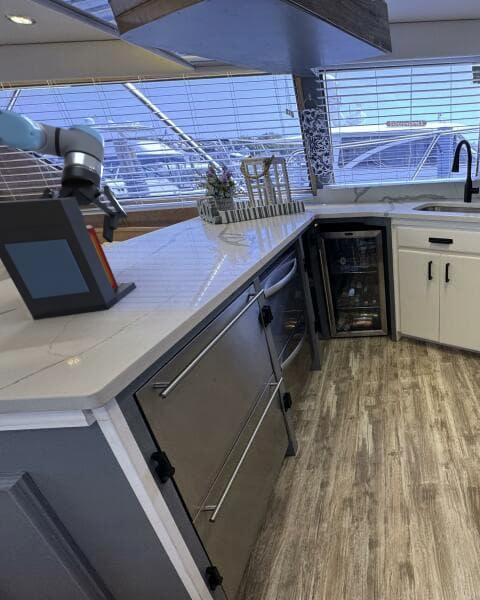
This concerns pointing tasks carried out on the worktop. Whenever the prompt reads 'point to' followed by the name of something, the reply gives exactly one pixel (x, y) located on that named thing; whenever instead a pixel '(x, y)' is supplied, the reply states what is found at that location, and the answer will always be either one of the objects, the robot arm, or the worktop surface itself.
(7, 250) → the slanted screen kiosk
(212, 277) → the worktop surface
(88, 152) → the robot arm
